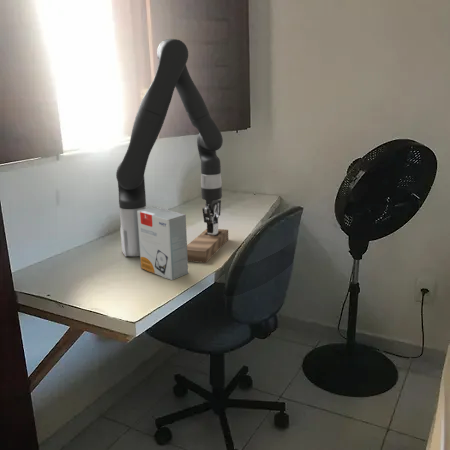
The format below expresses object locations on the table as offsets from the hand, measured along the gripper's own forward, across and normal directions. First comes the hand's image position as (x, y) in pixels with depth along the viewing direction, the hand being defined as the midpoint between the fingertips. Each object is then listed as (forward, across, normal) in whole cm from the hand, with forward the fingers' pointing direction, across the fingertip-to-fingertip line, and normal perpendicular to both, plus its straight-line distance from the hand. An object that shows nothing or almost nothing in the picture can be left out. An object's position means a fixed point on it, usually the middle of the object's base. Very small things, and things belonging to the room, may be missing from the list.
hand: (212, 230), depth 189 cm
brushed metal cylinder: (+6, 0, 0) cm, 6 cm away
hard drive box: (+5, -30, +6) cm, 31 cm away
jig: (+5, -7, 0) cm, 9 cm away
